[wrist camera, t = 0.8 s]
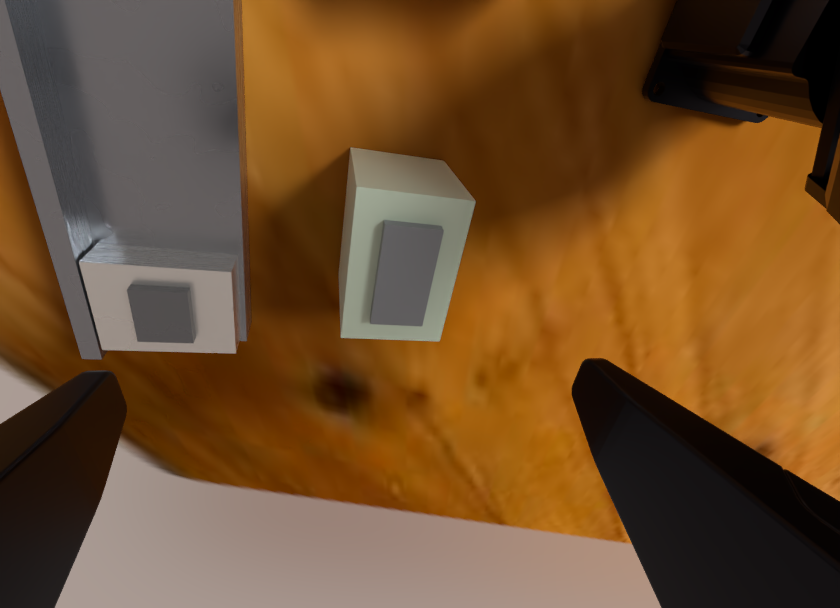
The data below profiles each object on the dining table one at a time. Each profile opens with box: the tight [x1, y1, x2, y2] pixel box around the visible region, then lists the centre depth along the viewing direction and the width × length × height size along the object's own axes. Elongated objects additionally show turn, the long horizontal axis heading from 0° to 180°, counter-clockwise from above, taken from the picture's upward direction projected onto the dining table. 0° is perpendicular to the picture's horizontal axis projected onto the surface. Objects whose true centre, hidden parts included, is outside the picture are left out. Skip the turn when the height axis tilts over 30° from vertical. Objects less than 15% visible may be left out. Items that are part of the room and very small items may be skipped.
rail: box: [0, 0, 251, 359], centre depth 13 cm, size 6×22×3 cm, turn 169°
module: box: [339, 147, 476, 341], centre depth 17 cm, size 4×6×5 cm, turn 170°
